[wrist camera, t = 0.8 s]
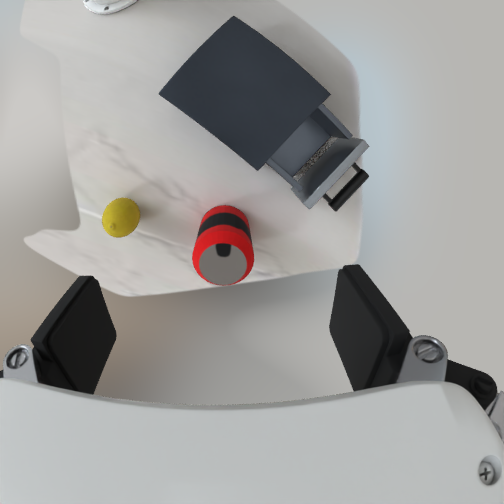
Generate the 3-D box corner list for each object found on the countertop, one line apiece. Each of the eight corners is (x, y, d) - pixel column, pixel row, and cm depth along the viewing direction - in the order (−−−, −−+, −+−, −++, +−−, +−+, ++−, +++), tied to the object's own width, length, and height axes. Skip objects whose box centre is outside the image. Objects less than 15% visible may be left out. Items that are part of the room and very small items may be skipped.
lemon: (145, 192, 39) (127, 207, 32) (146, 225, 42) (131, 246, 35) (113, 192, 39) (91, 207, 32) (116, 224, 41) (96, 245, 34)
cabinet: (308, 100, 35) (331, 94, 26) (251, 160, 39) (257, 171, 30) (233, 38, 30) (233, 15, 21) (174, 100, 34) (157, 93, 25)
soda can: (250, 205, 42) (256, 235, 31) (247, 249, 45) (253, 291, 34) (200, 204, 41) (189, 234, 30) (201, 249, 44) (192, 291, 34)
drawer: (363, 160, 39) (388, 170, 32) (315, 211, 42) (331, 230, 35) (280, 78, 32) (291, 67, 25) (226, 134, 36) (225, 137, 29)
